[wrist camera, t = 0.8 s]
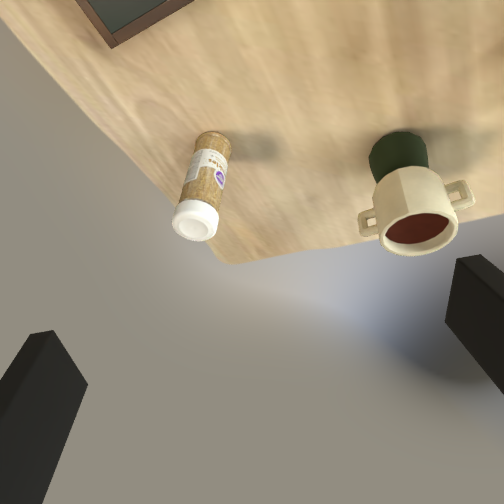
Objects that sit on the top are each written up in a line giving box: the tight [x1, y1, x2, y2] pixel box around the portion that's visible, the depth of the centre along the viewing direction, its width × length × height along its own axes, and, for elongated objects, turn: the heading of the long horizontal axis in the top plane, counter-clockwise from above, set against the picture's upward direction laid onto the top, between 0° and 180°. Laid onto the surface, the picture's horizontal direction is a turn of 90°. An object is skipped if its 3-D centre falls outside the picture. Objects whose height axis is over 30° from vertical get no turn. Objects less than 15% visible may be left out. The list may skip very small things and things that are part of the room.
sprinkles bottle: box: [172, 132, 231, 241], centre depth 38 cm, size 5×5×14 cm
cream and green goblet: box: [358, 132, 475, 256], centre depth 37 cm, size 11×7×13 cm, turn 123°
